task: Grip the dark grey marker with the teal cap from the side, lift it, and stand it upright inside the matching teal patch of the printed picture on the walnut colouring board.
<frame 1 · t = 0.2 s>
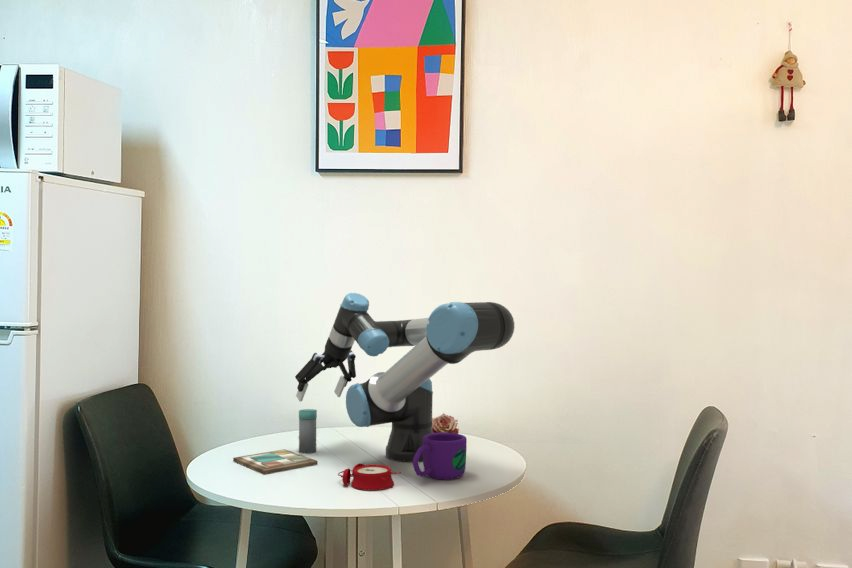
hand: (318, 396, 216), 15 cm above the table, tool tilted 35°, fingers open, 13 cm apart
alarm clock: (366, 485, 174), on the table
mug: (436, 478, 180), on the table
flower: (444, 442, 222), on the table
marker: (307, 451, 208), on the table
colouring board: (275, 462, 194), on the table
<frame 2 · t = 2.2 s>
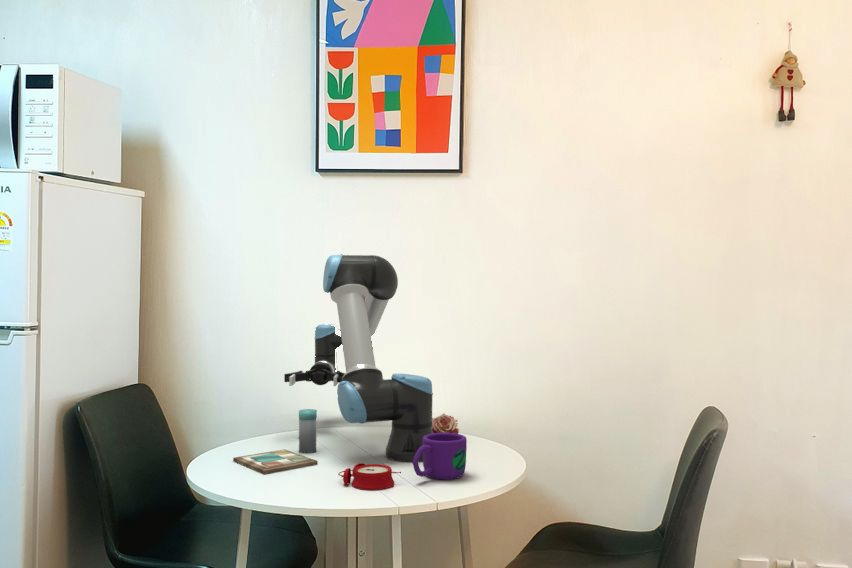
hand: (312, 381, 218), 19 cm above the table, tool horizontal, fingers open, 13 cm apart
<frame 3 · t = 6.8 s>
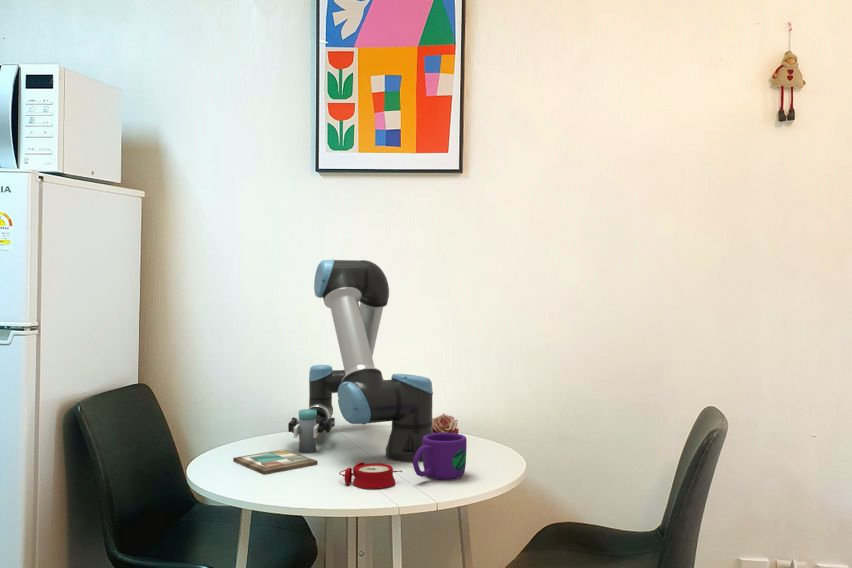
hand: (304, 432, 203), 7 cm above the table, tool horizontal, fingers closed on marker, 5 cm apart
marker: (307, 451, 208), on the table, touching gripper
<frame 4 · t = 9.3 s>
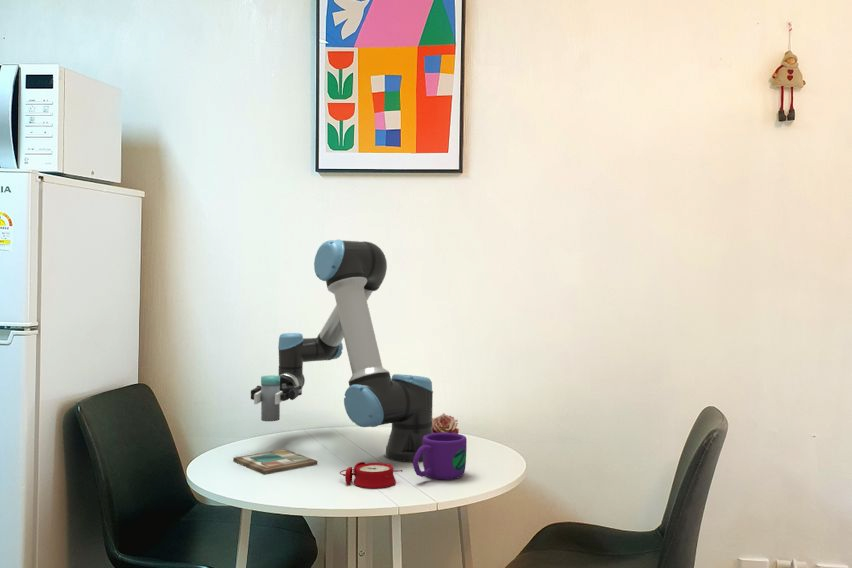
hand: (266, 399, 191), 18 cm above the table, tool horizontal, fingers closed on marker, 5 cm apart
marker: (270, 419, 197), point 11 cm above the table, touching gripper
when the fingers open (9 cm above the table, at t = 11.8 s): marker drops 1 cm, resting on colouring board.
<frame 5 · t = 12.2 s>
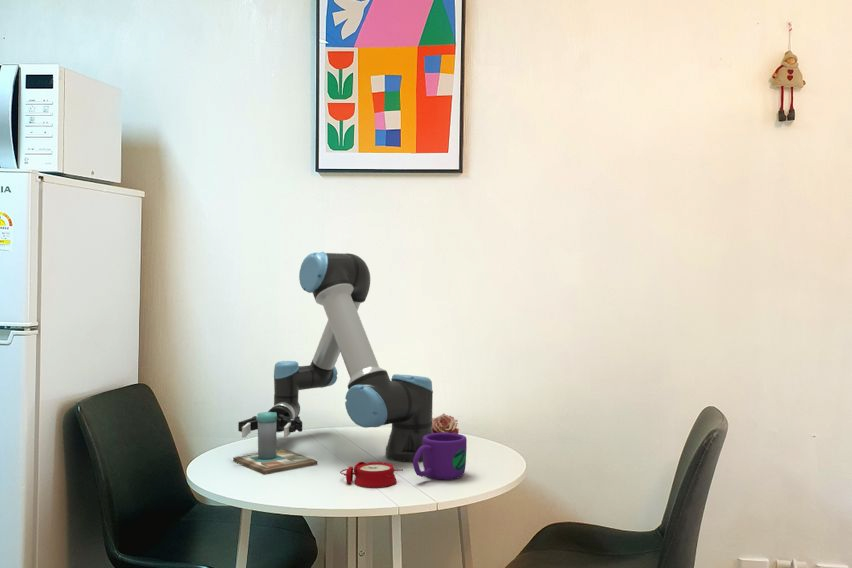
hand: (264, 432, 190), 9 cm above the table, tool horizontal, fingers open, 10 cm apart
marker: (267, 457, 194), point 1 cm above the table, touching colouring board
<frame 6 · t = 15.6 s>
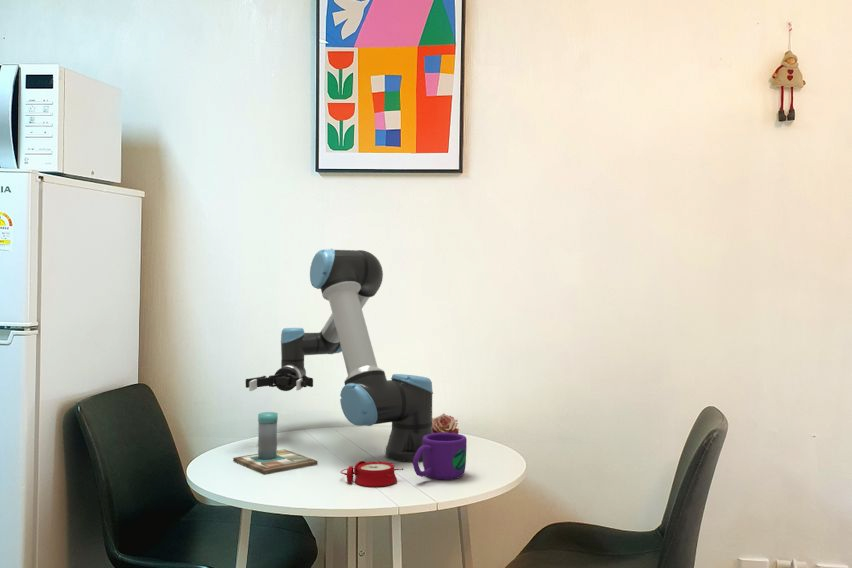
hand: (274, 386, 205), 20 cm above the table, tool horizontal, fingers open, 13 cm apart
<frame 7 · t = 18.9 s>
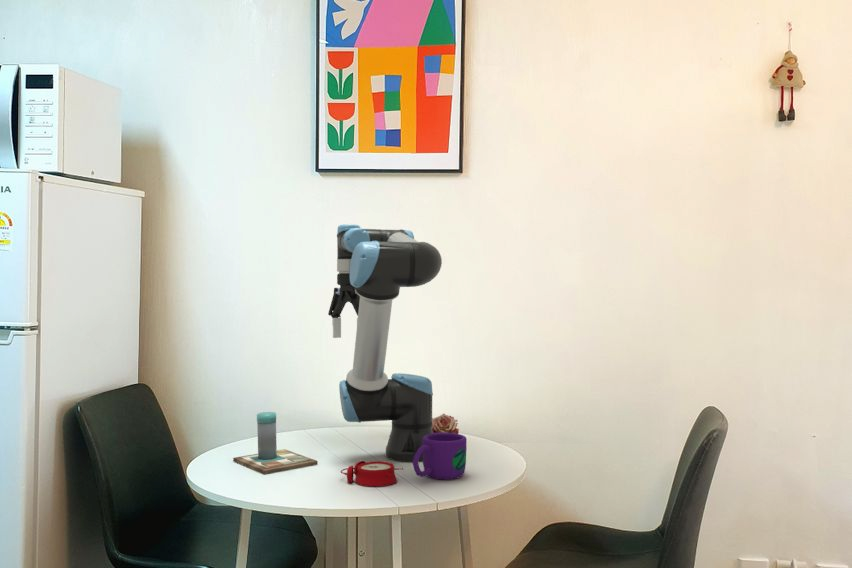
hand: (348, 338, 227), 32 cm above the table, tool pointing down, fingers open, 13 cm apart
at the end: marker inside the target area on the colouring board (0.1 cm from its centre), point 1.5 cm above the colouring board's base; marker tilted 1°; the gripper is holding nothing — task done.
